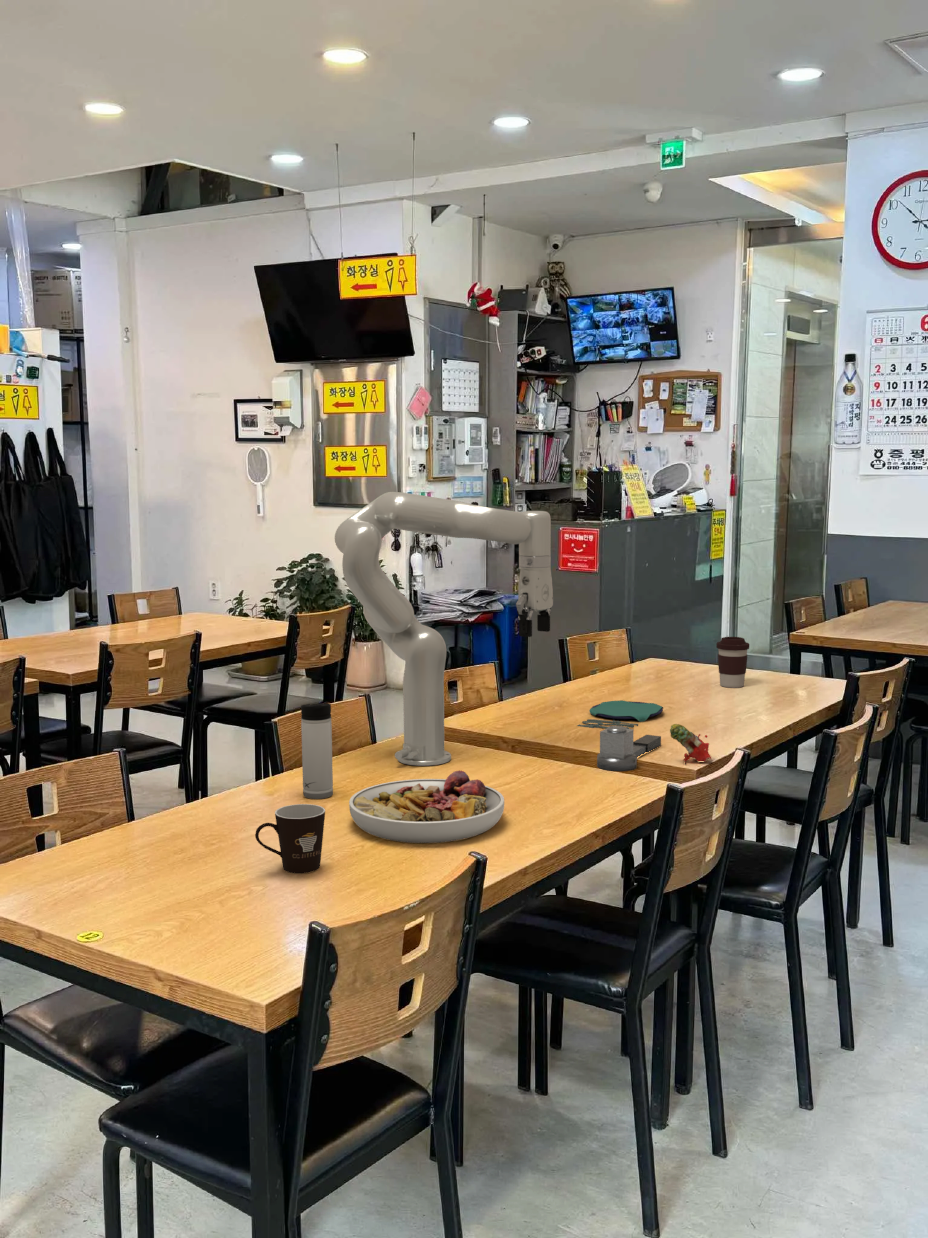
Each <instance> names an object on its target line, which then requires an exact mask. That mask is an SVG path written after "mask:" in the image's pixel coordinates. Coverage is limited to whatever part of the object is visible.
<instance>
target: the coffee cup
mask: <svg viewBox="0 0 928 1238" xmlns="http://www.w3.org/2000/svg"><path fill="white" fill-rule="evenodd" d="M716 649H718V654H717V659H718V660H717V661H718V662H717V663H718V664H717V665H718V667H717V668H718V673H719V685H720V686H721V687H723V688H730V689H731V688H733V689H736V688H737V689H738V688H742V687H744V685H745V680H746V679H745V677H746V673H747V666H748V665H747V664H748V663H747V662H748V650H749V649H750V643H749V642H746V640H745V638H744V637H740V636H724V637H721V638H720V641H718V642H716Z"/></svg>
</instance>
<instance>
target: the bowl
mask: <svg viewBox="0 0 928 1238" xmlns="http://www.w3.org/2000/svg"><path fill="white" fill-rule="evenodd" d="M348 803H349V805H348V806H349V813H350V817H351V818H352V820H353V822H354V824H355V825H356V826H358V827H359V828H360V829H361V830H363V832H366V833H367V834H370V835H371V836H374V837H377V838H381V839H383V840H388V841H393V842H400V843H411V844H412V843H413V844H438V843H448V842H449V843H450V842H455V841H461V840H465V839H466V840H467V839H470V838H473V837H476V836H478V835H481V834H483V833H485V832H488V830H490V829H492V828H493V827H494V826H495V825H497V824H498V822H499V821H500V820H501V818H502V816H503V813H504V810H505V798H504V795H503V794H502V793H501V792H500V791H498V790H496V789H495V788H493V787H490V786H488V785H485V784H484V783H483V781H482V780H480V779H472V780H470V776H469V775H468V774H467V773H466V772H465V771H464V770H456V771H453V772H452V773H450V774H449V775H448V776H447V777H446V778H415V779H413V778H411V779H403V780H402V779H401V780H395V781H389V782H384V783H379V784H374V785H372V786H368V787H366V788H363V789H360V790H359V791H357V792H355V793H354V794H353V795H351V797H350V799H349V802H348Z"/></svg>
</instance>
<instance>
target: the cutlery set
mask: <svg viewBox="0 0 928 1238" xmlns="http://www.w3.org/2000/svg"><path fill="white" fill-rule="evenodd" d="M663 711H664V707H663V706H662V705H659V704H658V703H654V702H653V703H652V702H642V701H629V700H628V701H627V700H624V699H623V700H621V699H620V700H610V701H609V700H607V701H603V702H601V703H599V704H596V705H593V706H592V707H590V708H589V714H591V715H592V716H594V717H598V716H599V717H603V718H605V719H606V718H608V719H613V720H612V721H611V720H605V719H603V720H602V719H592V718H590V719H589V718H587V719H586V720H583V721H582V723H583V724H577V725H576V727H581V728H582V727H583V728H589V729H599V728H600V729H603V730H605V729H607V727H608V726H623V727H626V728H627V729H632V728H633V729H634V727H635V726H636V727H639V723H644V722H645V721H647V720H648V718H650V717H656V716H657V715H660V714H662V713H663ZM615 719H617V720H615ZM619 720H637V721H638V722H639V723H632V722H631V723H630V722H623V721H619Z"/></svg>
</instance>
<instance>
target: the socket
mask: <svg viewBox="0 0 928 1238" xmlns="http://www.w3.org/2000/svg"><path fill="white" fill-rule="evenodd" d="M606 727H607V729H603V730H601V731H599V753H600V757H603V758H611V759H619V760H625V759H626V758H628V757H630V756H632V755H633V742H634V728H633V729H632V728H629V729H627V728H626V727H625V726H611V725H608V726H606Z"/></svg>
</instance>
